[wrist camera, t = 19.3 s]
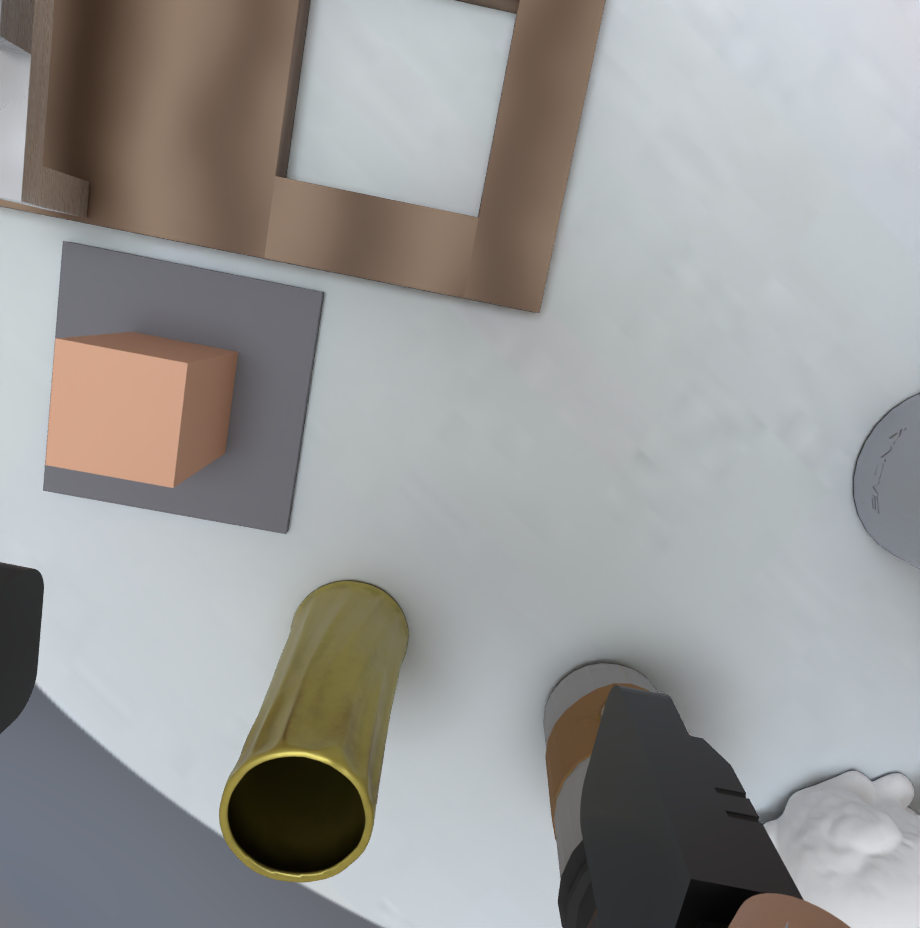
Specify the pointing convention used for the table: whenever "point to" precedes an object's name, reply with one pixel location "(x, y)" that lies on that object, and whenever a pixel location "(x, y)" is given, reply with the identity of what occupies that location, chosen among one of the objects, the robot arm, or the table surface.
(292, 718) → the vase
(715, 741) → the table surface
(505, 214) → the puzzle board
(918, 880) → the rabbit
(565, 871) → the coffee cup
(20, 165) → the metal gate
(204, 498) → the charcoal mat
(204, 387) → the terracotta block
